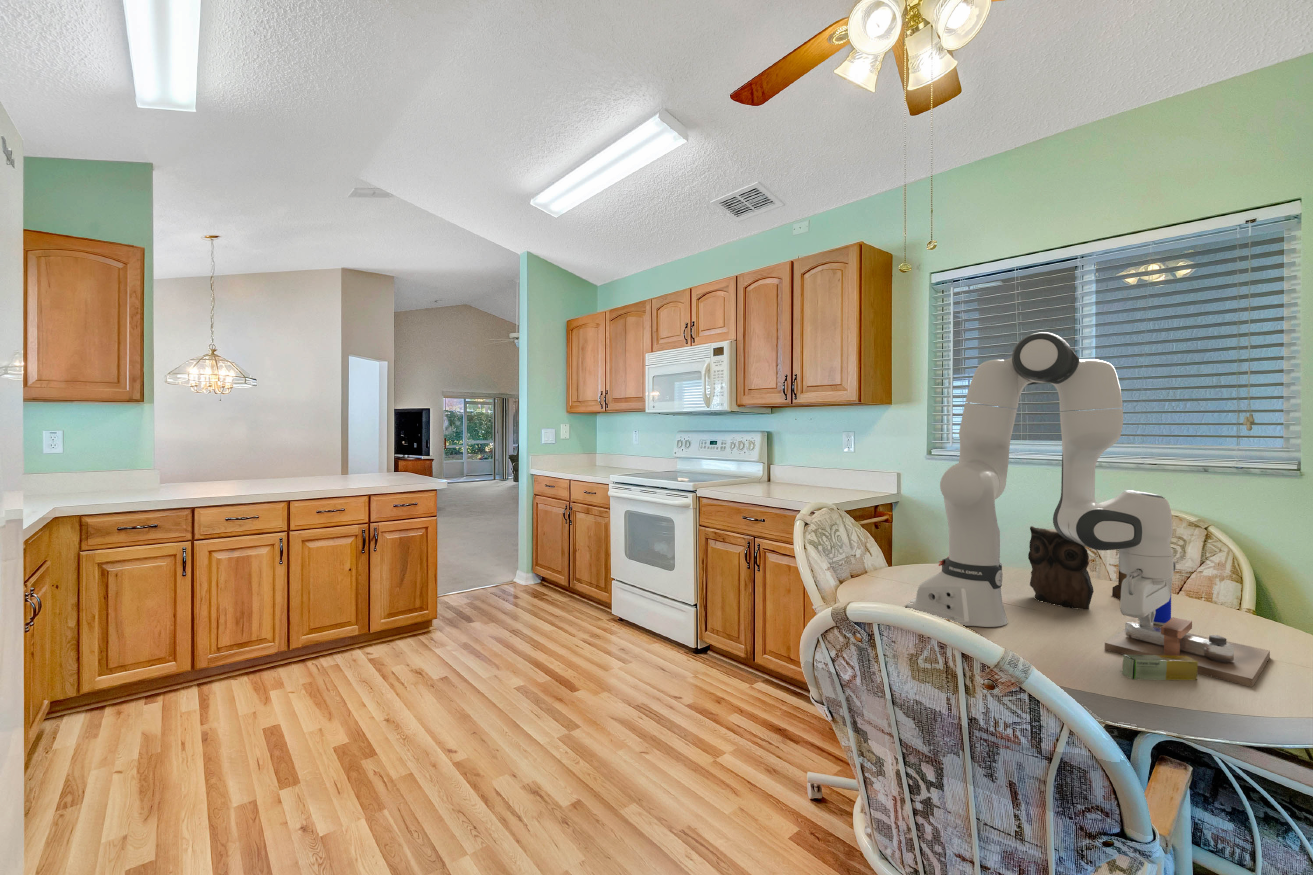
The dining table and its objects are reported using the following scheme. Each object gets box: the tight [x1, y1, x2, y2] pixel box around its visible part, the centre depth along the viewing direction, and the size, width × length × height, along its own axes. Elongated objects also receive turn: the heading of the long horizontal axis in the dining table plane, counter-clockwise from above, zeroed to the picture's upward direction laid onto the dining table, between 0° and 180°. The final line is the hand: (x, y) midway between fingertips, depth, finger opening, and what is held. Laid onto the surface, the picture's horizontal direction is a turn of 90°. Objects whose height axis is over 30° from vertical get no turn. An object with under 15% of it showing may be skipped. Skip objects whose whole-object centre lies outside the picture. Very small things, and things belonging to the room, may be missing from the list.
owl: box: [1027, 525, 1094, 611], centre depth 151 cm, size 13×13×20 cm
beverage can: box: [1153, 595, 1172, 626], centre depth 135 cm, size 5×5×15 cm
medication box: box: [1121, 654, 1198, 681], centre depth 105 cm, size 12×3×4 cm, turn 88°
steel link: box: [1124, 621, 1234, 661], centre depth 115 cm, size 17×4×2 cm, turn 32°
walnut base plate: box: [1104, 616, 1271, 688], centre depth 116 cm, size 22×22×7 cm
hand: (1146, 629), depth 121 cm, fingers closed
